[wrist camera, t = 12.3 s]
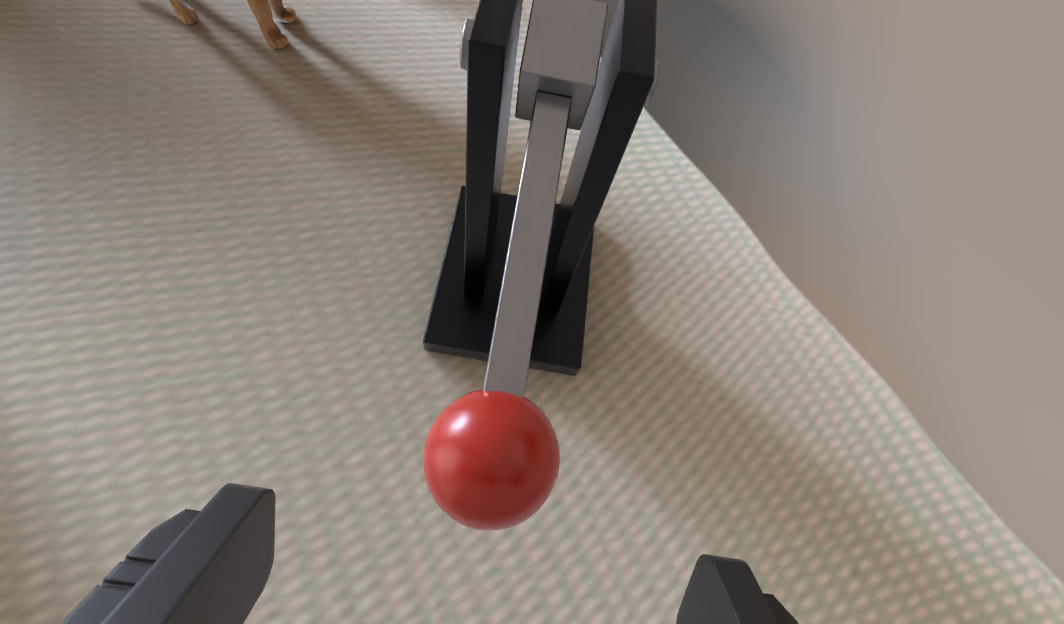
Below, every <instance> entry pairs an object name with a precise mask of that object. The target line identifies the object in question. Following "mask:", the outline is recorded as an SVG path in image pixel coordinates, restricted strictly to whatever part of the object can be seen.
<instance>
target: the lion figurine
mask: <svg viewBox="0 0 1064 624" xmlns="http://www.w3.org/2000/svg"><path fill="white" fill-rule="evenodd" d="M169 1H170V3H171V5H172V6H173V8H174V11H175V13H176V15H177V17H178V18H179V20H180V21H181V22H183V23H185V24H193V23H194V22H195V21H196V20H197V19H198V14H197V12H196V11H195V10H194V9H192V8H190V7H188V6H187V5H186V4H184V2H183V1H182V0H169ZM247 1H248V3H249V5H250V7H251V9H252V11H253V13H254V15H255V17H256V19H257V21H258V23H259V25H260V28H261V30H262V32H263V35H264V37H265V39H266V40H267V42H268V44H269V45H270V46H271V47H272V48H275V49H280V48H283V47H285V46H286V45H287V42H288V39H287V37H286V36H285V35H282V34H281V31H280V29H279V28H278V27H277V25H276V24H275V23H274V21H273V17H272V14H273V16H274V17H275V18H276V19H277V20H278V21H281V22H285V23H292V22H293V21H295V20H296V13H295V11H294V10H293V9H291V8H289V7H285V8H284V7H283V5H282V0H247Z"/></svg>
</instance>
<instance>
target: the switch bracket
mask: <svg viewBox="0 0 1064 624" xmlns="http://www.w3.org/2000/svg"><path fill="white" fill-rule="evenodd" d="M522 2H523V0H480V1H479V4H478V8H477V11H476V15H475V18H474V20H473V19H466V21H465V24H464V27H463V32H462V38H461V47H460V65H461V68H462V69H464V70H468V73H467V135H466V186H462V187H461V191H460V195H459V199H458V203H457V207H456V211H455V215H454V219H453V223H452V227H451V231H450V235H449V239H448V243H447V247H446V251H445V255H444V259H443V263H442V267H441V271H440V275H439V279H438V283H437V287H436V291H435V295H434V299H433V303H432V307H431V311H430V315H429V319H428V323H427V327H426V331H425V335H424V339H423V343H424V349H425V350H427V351H433V352H439V353H445V354H451V355H456V356H462V357H468V358H474V359H480V360H486V361H488V358H489V353H490V347H491V342H492V336H493V330H494V325H495V319H496V314H497V308H498V302H499V297H500V291H501V286H502V280H503V274H504V269H505V263H506V257H507V252H508V246H509V241H510V235H511V229H512V224H513V218H514V213H515V207H516V201H517V196H514V195H509V194H503V193H501V186H502V177H503V168H504V159H505V151H506V142H507V133H508V124H509V116H510V107H511V98H512V89H513V81H514V72H515V63H516V54H517V46H518V37H519V28H520V19H521V11H522ZM656 12H657V0H619V1H618V4H617V8H616V12H615V15H614V18H613V22H612V25H611V29H610V32H609V36H608V39H607V42H606V46H605V49H604V53H603V56H602V60H601V63H600V67H599V70H598V74H597V80H596V86H595V89H594V92H593V95H592V98H591V101H590V104H589V106H588V109H587V112H586V115H585V119H584V122H583V126H582V129H581V133H580V136H579V140H578V143H577V146H576V150H575V153H574V157H573V160H572V164H571V167H570V171H569V174H568V178H567V181H566V185H565V188H564V192H563V195H562V198H561V202H560V204H556V203H555V208H554V214H553V220H552V226H551V232H550V239H549V245H548V251H547V257H546V263H545V269H544V276H543V282H542V288H541V294H540V300H539V306H538V313H537V319H536V325H535V331H534V337H533V343H532V349H531V356H530V362H529V368H533V369H539V370H545V371H551V372H557V373H563V374H568V375H574V376H575V375H577V373H578V372H579V370H580V369H581V363H582V352H583V341H584V330H585V319H586V308H587V297H588V287H589V276H590V265H591V254H592V243H593V232H594V225H595V222H596V220H597V217H598V215H599V213H600V210H601V208H602V205H603V203H604V201H605V198H606V196H607V193H608V191H609V188H610V186H611V184H612V181H613V179H614V176H615V174H616V171H617V169H618V167H619V164H620V162H621V159H622V157H623V154H624V152H625V150H626V147H627V145H628V142H629V140H630V138H631V135H632V133H633V130H634V128H635V125H636V123H637V121H638V118H639V116H640V113H641V111H642V108H643V106H647V104H648V103H649V101H650V99H651V97H652V95H653V92H654V89H655V86H656V82H657V78H658V73H659V59H657V58H655V46H656V44H655V43H656V14H657V13H656Z"/></svg>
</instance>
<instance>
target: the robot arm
mask: <svg viewBox="0 0 1064 624" xmlns="http://www.w3.org/2000/svg"><path fill="white" fill-rule="evenodd" d="M274 538H275V493H274V491H273V490H272V489H266V488H260V487H253V486H246V485H239V484H232V483H229V484H226V485H225V486H224V487H222V488H221V489H220V490H219V491H218V493H217V494H216V495H215V496H214V497H213V498H212V499H211V500H210V502H209V503H208V504H207V505H206V506H205V507H204V508H203V509H202V510H201V511H195V510H188V509H185V510H184V511H182V512H180V513H179V514H177V515H175V516H174V517H172V518H170V519H169V520H167V521H165V522H164V523H162V524H160V525H159V526H157V527H155V528H154V529H152V530H151V531H150V532H149V533H148V534H147V535H146V536H145V537H144V538H143V539H142V540H141V541H140V542H139V543H138V544H137V545H136V546H135V547H134V548H133V550H132V551H131V552H130V553H129V554H128V555H127V556H126V559H125V560H124V562H120V563H119V564H118V565H117V566H116V567H115V568H114V569H113V570H112V571H111V572H110V573H109V574H108V575H107V576H106V577H105V578H104V579H103V583H102V584H101V585H100V586H99V585H97V586H96V587H95V588H94V589H93V590H92V591H91V592H90V593H89V595H88V596H87V597H86V598H85V599H84V600H83V601H82V602H81V603H80V604H79V605H78V606H77V607H76V608H75V609H74V610H73V611H72V612H71V613H70V614H69V615H68V616H67V617H66V618H65V619H64V620H63V621H62V622H61V623H60V624H243V623H244V621H245V620H246V618H247V616H248V615H249V613H250V611H251V610H252V608H253V606H254V605H255V603H256V601H257V600H258V598H259V596H260V595H261V593H262V591H263V589H264V587H265V585H266V582H267V580H268V577H269V574H270V571H271V568H272V564H273V559H274ZM676 624H798V622H797V621H796V620H795V619H794V618H793V616H792V615H791V614H790V613H789V612H788V611H787V610H786V609H785V608H784V607H783V606H782V605H781V603H780V602H779V601H778V600H777V599H776V598H775V597H774V596H773V595H771V594H764V593H762V591H761V589H760V587H759V585H758V583H757V581H756V579H755V577H754V575H753V573H752V571H751V569H750V567H749V566H748V564H747V563H746V562H745V561H743V560H740V559H733V558H726V557H720V556H713V555H706V554H703V555H701V556H700V557H699V558H698V560H697V562H696V565H695V568H694V571H693V573H692V576H691V579H690V581H689V584H688V587H687V589H686V592H685V595H684V598H683V600H682V603H681V606H680V608H679V611H678V615H677V622H676Z"/></svg>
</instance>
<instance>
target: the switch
mask: <svg viewBox="0 0 1064 624" xmlns="http://www.w3.org/2000/svg"><path fill="white" fill-rule="evenodd" d="M607 8H608V4H607V3H602V2H598V1H593V0H533V3H532V8H531V14H530V19H529V24H528V30H527V35H526V40H525V46H524V51H523V56H522V62H521V67H520V74H519V84H518V94H517V103H516V113H515V117H516V118H519V119H524V120H529V121H531V123H530V129H529V134H528V140H527V145H526V151H525V157H524V162H523V168H522V173H521V179H520V185H519V190H518V196H517V201H516V207H515V213H514V218H513V224H512V229H511V235H510V241H509V246H508V252H507V257H506V263H505V269H504V274H503V280H502V286H501V291H500V297H499V302H498V308H497V314H496V319H495V325H494V330H493V336H492V342H491V347H490V353H489V358H488V364H487V370H486V375H485V381H484V386H483V390H477V391H474V392H471V393H468V394H466V395H464V396H461V397H460V398H458V399H457V400H455V401H453V402H452V403H451V404H450V405H449V406H447V407H446V408H445V409H444V410H443V411H442V412H441V414H440V415H439V416H438V418H437V419H436V420H435V422H434V424H433V425H432V427H431V429H430V431H429V434H428V436H427V439H426V443H425V447H424V454H423V469H424V476H425V479H426V483H427V486H428V488H429V491H430V493H431V495H432V497H433V498H434V500H435V502H436V503H437V504H438V505H439V507H440V508H441V509H442V510H443V511H444V512H445V513H446V514H447V515H448V516H450V517H451V518H452V519H454V520H455V521H457V522H459V523H461V524H463V525H465V526H468V527H470V528H474V529H479V530H501V529H506V528H509V527H512V526H515V525H517V524H519V523H521V522H523V521H525V520H526V519H528V518H529V517H531V516H532V515H533V514H534V513H535V512H536V511H538V510H539V508H540V507H541V506H542V505H543V504H544V503H545V501H546V500H547V498H548V497H549V495H550V493H551V491H552V489H553V487H554V485H555V482H556V479H557V475H558V470H559V461H560V456H559V446H558V441H557V437H556V434H555V431H554V429H553V427H552V425H551V423H550V421H549V420H548V418H547V417H546V415H545V414H544V413H543V412H542V410H541V409H540V408H538V407H537V406H536V405H535V404H534V403H533V402H531V401H530V400H529V399H527V398H525V397H524V393H525V386H526V380H527V374H528V368H529V362H530V356H531V349H532V343H533V337H534V331H535V325H536V319H537V313H538V306H539V300H540V294H541V288H542V282H543V276H544V269H545V263H546V257H547V251H548V245H549V239H550V232H551V226H552V220H553V214H554V208H555V202H556V196H557V189H558V183H559V177H560V171H561V165H562V159H563V152H564V146H565V140H566V134H567V128H569V129H574V130H580V129H581V127H582V124H583V121H584V118H585V115H586V112H587V109H588V106H589V104H590V101H591V98H592V95H593V92H594V89H595V86H596V80H597V73H598V67H599V60H600V54H601V47H602V40H603V33H604V27H605V21H606V14H607Z"/></svg>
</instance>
